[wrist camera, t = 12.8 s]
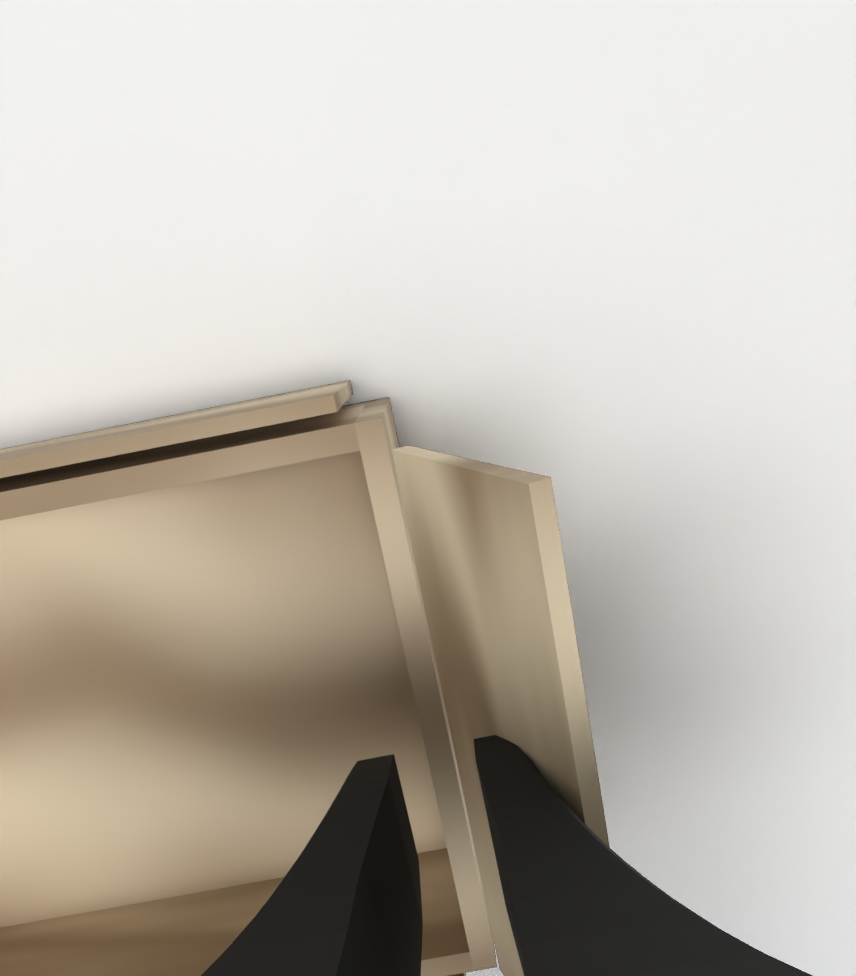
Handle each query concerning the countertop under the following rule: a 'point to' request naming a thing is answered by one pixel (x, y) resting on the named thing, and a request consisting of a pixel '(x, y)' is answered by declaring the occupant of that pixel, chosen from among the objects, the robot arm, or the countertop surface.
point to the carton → (211, 682)
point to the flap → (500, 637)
